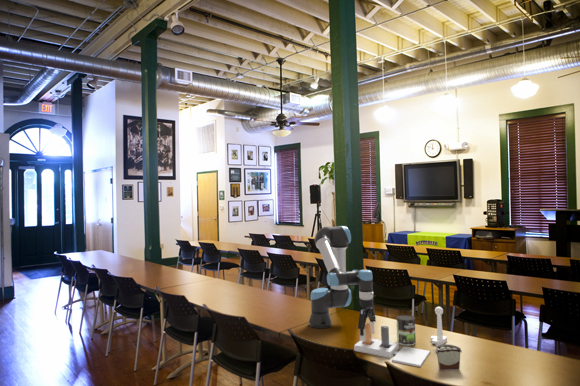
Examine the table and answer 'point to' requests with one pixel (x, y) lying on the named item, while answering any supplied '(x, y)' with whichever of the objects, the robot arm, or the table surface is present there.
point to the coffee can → (406, 330)
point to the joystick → (439, 329)
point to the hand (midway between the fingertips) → (367, 337)
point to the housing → (377, 348)
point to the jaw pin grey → (385, 336)
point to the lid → (411, 356)
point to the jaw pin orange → (368, 334)
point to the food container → (448, 357)
